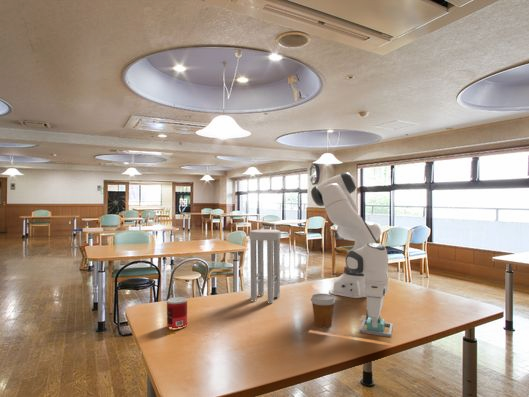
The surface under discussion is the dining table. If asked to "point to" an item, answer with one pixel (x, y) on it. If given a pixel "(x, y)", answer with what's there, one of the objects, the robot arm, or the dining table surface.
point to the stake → (364, 316)
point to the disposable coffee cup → (323, 309)
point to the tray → (377, 331)
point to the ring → (379, 328)
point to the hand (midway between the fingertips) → (376, 322)
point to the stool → (269, 236)
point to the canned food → (177, 312)
